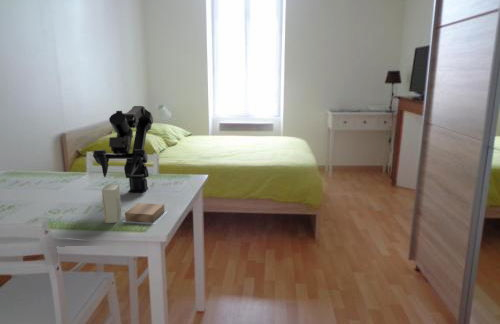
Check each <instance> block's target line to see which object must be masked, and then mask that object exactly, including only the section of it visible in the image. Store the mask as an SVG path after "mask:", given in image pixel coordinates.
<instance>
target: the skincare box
mask: <svg viewBox="0 0 500 324" xmlns="http://www.w3.org/2000/svg"><path fill="white" fill-rule="evenodd" d="M120 190H121V189H120V184H118V183H117V184H115V183H114V184H106V185H105V186H104V187H103V188H102V189H101V194H102V195H101V197H102V206H103V208H102V209H103V217H104V223H105V224H107V223H108V224H110V223H118V222H119V221H120V219H121V218H122V217H123V215H122V214H123V213H122V204H121V191H120Z"/></svg>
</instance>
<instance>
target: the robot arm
mask: <svg viewBox="0 0 500 324" xmlns="http://www.w3.org/2000/svg"><path fill="white" fill-rule="evenodd" d="M108 119H109V123H110V125H111V126H112V129H113V131H114V133H116V137H115V136H114V137H113V136H112V137H111V136H110V137H108V138H109V139H108V140H109V141H108V147H110V150H111V152H112V153H111V152H110V153H107V151H106V149H96V150H95V149H94V151H93V152H92V157H93V159H94V160H95V162H96V163H97V164H99V165H100V166H101V168H102V169H101V170H102V174H103V175H102V176H103V178H106V177H107V174H108V169H109V160H116V159H117V160H125V164H124V175H125V178H126V179H128V180H129V190H128V193H144V192H145V191H146V190H148V189H149V187H148V179H147V178H149V174H150V173H149V169H148V167H147V165H146V163H148V160H149V159H148V153H147V152H146V150H145V145H146V138H147V133H148V132H149V131H150V130H151V128H152V125H153V123H154V117H153V114H152V113H151V112H150V111H149V110H147V109H146V107H145V106H143V105H134V106H132V108H131V109H129V111H127V112H124V113H123V110H116V112H115V113H113V114H111V116H110V117H109V118H108ZM133 129H136V130H135V135H133V133H134V132H133ZM133 138H134V139H133ZM132 139H133V146H132ZM131 150H132V151H131ZM130 152H132V153H130Z"/></svg>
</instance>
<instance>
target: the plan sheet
mask: <svg viewBox="0 0 500 324" xmlns="http://www.w3.org/2000/svg"><path fill="white" fill-rule="evenodd" d="M164 211H165V210H164ZM168 212H169V211H168V210H166V211H165V212H164V213H163V214H162V215H161V216H160V217H159V218H158V219H157V220H156V221H155V222H153V223H146V222H130V221H126V220H125V219H124V220H122V221H121V223H126V224H140V225H141V224H143V225H156V224H157V223H158V222H159V221H160V220H162V218H163V217H164V216H165V215H166V214H167V213H168Z"/></svg>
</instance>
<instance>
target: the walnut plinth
mask: <svg viewBox="0 0 500 324" xmlns="http://www.w3.org/2000/svg"><path fill="white" fill-rule="evenodd" d="M164 212H165V204H164V203H163V204H161V203H142V202H138V203H136V204H135V205H133V206H132V207H131V208H129V210H127V211H125V212H124V218H125V219H124V220H126V221H130V222H146V223H153V222H155V221H156V220H157V219H158V218H159V217H160V216H161V215H162V214H163V213H164Z"/></svg>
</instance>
